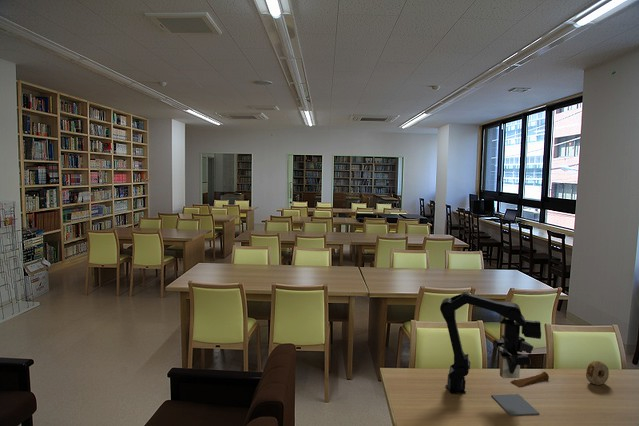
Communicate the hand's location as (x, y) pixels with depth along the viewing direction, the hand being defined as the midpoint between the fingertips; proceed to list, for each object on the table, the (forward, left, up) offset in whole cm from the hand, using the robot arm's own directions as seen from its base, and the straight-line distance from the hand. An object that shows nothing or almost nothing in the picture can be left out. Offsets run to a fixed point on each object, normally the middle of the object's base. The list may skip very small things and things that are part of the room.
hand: (509, 371), depth 168 cm
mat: (+1, -3, -12) cm, 13 cm away
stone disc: (+49, +11, -13) cm, 52 cm away
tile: (0, 0, -2) cm, 2 cm away
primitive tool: (+19, +14, -13) cm, 27 cm away
